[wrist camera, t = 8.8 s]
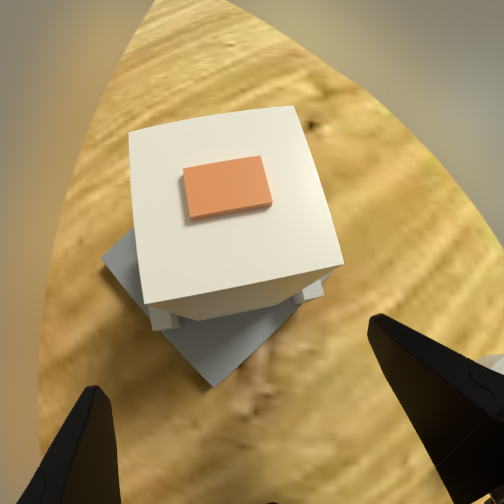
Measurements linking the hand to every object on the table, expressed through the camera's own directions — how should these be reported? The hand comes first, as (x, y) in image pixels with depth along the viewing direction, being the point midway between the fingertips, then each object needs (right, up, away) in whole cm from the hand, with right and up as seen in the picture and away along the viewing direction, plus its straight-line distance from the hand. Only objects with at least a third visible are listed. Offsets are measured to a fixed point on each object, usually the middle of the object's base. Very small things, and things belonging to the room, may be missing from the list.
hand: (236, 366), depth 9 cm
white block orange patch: (-1, +2, +9) cm, 9 cm away
